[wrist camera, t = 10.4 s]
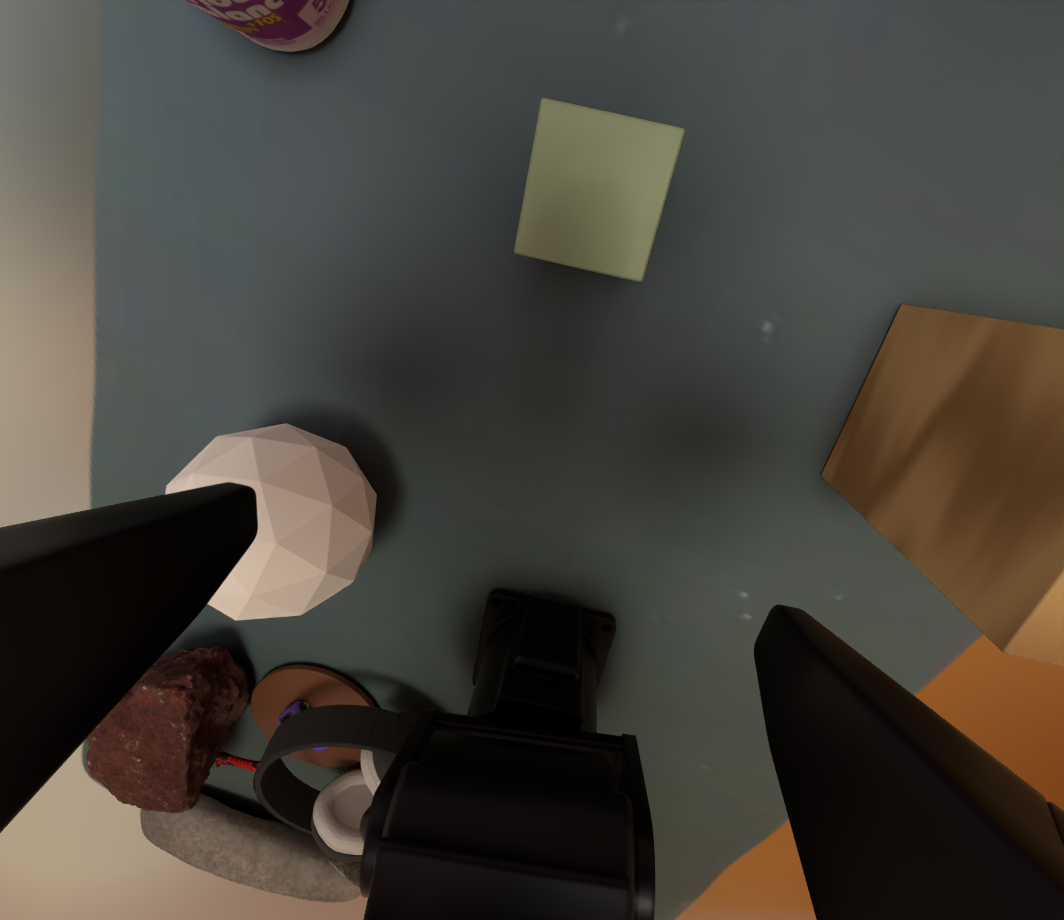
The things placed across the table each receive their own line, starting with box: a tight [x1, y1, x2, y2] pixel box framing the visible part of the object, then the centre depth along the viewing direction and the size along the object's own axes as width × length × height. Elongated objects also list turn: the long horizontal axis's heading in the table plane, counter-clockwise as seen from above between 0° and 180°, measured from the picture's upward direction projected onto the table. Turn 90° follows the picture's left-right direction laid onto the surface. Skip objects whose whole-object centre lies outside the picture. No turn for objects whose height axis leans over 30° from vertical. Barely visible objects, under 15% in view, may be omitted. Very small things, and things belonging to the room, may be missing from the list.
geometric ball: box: [165, 423, 377, 620], centre depth 20 cm, size 8×8×8 cm
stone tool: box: [140, 793, 362, 902], centre depth 34 cm, size 17×3×5 cm
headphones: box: [253, 705, 422, 862], centre depth 29 cm, size 10×4×20 cm
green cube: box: [514, 98, 685, 282], centre depth 16 cm, size 4×4×4 cm
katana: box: [212, 752, 260, 771], centre depth 33 cm, size 13×2×1 cm, turn 90°
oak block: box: [822, 304, 1064, 667], centre depth 14 cm, size 7×7×10 cm
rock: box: [86, 647, 249, 813], centre depth 28 cm, size 11×6×8 cm
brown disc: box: [251, 665, 378, 767], centre depth 29 cm, size 8×8×2 cm
